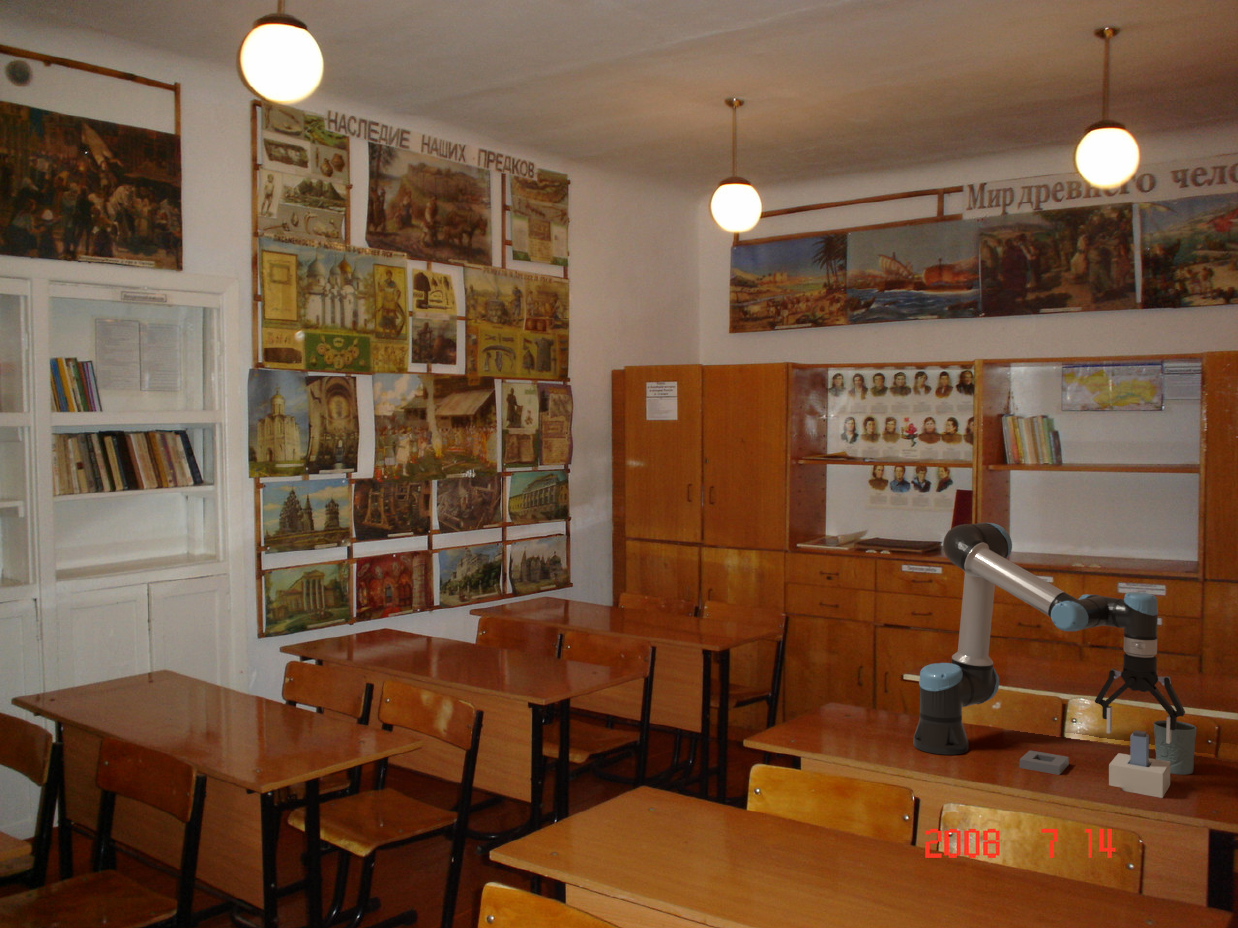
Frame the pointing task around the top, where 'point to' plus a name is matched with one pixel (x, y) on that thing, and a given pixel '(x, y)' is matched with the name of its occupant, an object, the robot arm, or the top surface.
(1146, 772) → the port
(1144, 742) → the plug
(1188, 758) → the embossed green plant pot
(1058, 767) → the grey square socket block
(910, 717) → the top surface
